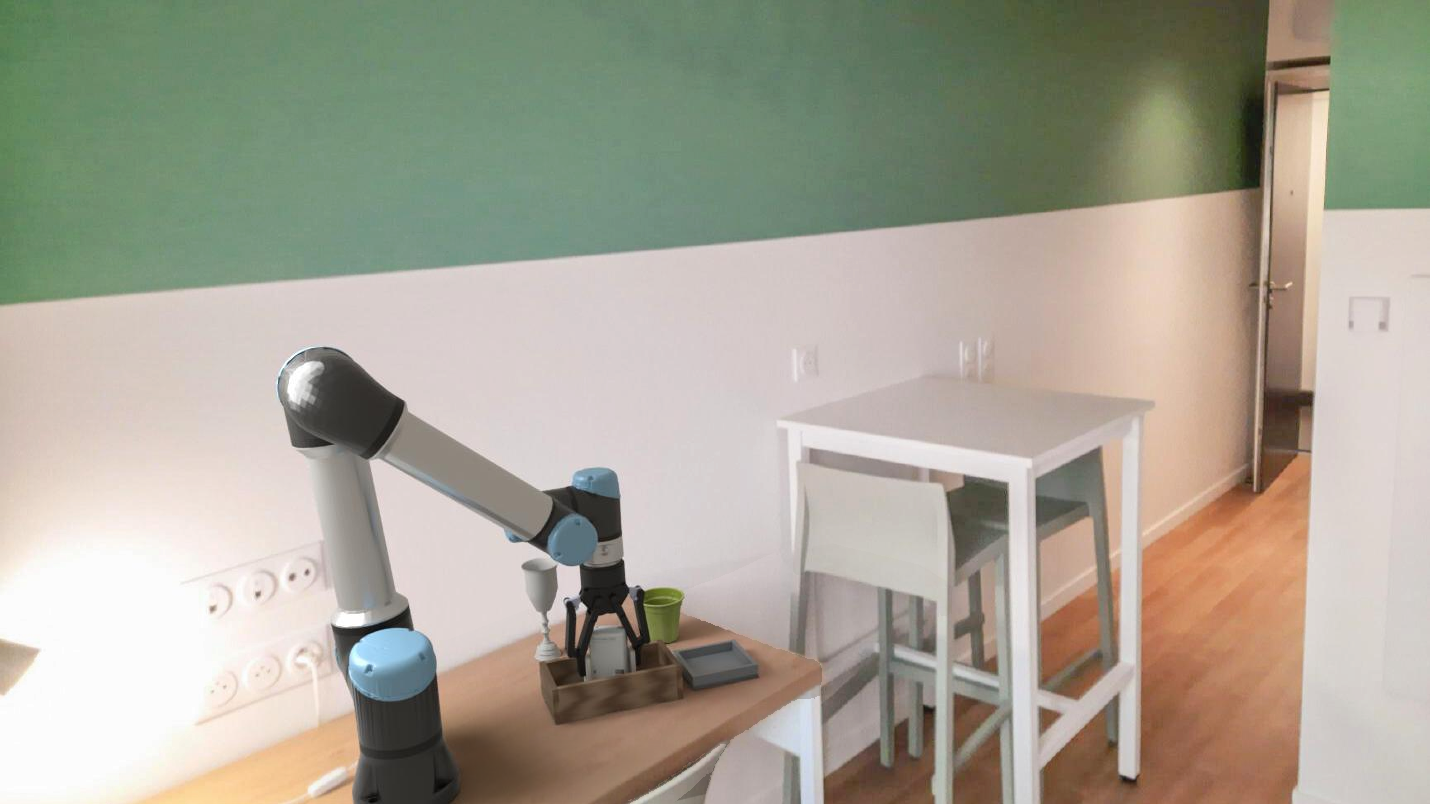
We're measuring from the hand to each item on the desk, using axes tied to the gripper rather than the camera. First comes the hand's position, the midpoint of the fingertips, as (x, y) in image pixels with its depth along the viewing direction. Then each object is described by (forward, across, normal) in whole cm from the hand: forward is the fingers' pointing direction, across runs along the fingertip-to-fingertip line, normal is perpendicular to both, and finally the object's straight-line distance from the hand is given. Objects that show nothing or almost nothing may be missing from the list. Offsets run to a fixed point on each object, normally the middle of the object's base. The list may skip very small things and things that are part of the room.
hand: (611, 687), depth 185 cm
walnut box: (+2, 0, 0) cm, 2 cm away
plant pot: (+2, +15, +20) cm, 25 cm away
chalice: (+2, -7, +22) cm, 23 cm away
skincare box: (+2, 0, 0) cm, 2 cm away
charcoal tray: (+2, +20, +2) cm, 20 cm away
